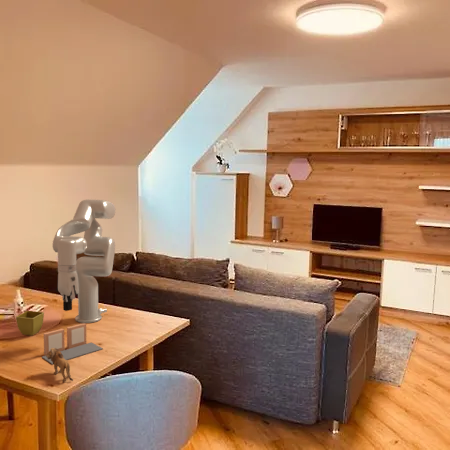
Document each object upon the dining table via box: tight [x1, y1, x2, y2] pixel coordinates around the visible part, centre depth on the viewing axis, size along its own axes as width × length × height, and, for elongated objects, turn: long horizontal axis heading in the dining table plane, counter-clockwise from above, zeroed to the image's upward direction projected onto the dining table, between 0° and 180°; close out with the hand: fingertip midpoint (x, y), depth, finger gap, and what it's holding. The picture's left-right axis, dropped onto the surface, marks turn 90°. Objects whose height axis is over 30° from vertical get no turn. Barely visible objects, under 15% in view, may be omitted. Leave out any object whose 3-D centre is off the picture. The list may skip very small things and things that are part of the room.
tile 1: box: [43, 328, 66, 356], centre depth 190 cm, size 8×2×9 cm, turn 136°
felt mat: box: [41, 342, 104, 366], centre depth 190 cm, size 22×9×1 cm, turn 136°
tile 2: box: [66, 323, 87, 349], centre depth 197 cm, size 8×2×9 cm, turn 136°
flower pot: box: [15, 310, 45, 336], centre depth 210 cm, size 9×9×9 cm
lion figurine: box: [46, 348, 74, 383], centre depth 170 cm, size 15×5×9 cm, turn 51°
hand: (67, 309), depth 200 cm, fingers closed
